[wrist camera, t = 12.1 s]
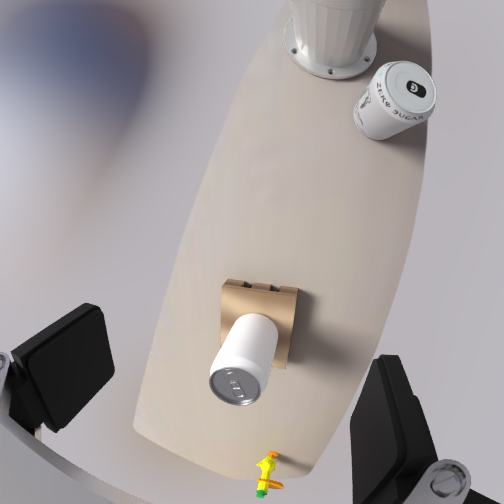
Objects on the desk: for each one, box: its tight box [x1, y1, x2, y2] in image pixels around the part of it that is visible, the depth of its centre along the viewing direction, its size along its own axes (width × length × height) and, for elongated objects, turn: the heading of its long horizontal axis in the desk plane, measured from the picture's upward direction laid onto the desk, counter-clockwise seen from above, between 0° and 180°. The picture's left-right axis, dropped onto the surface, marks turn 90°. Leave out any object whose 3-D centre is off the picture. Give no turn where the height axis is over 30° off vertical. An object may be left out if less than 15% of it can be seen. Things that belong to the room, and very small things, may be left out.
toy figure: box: [256, 452, 284, 498], centre depth 44 cm, size 7×4×12 cm, turn 72°
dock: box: [220, 279, 298, 369], centre depth 40 cm, size 12×10×3 cm
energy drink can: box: [353, 61, 437, 140], centre depth 24 cm, size 6×6×15 cm
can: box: [209, 313, 278, 406], centre depth 33 cm, size 6×6×12 cm
